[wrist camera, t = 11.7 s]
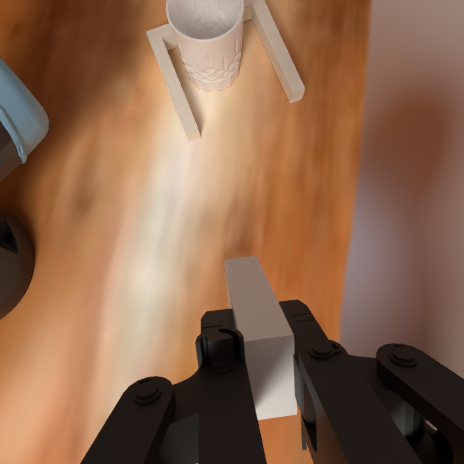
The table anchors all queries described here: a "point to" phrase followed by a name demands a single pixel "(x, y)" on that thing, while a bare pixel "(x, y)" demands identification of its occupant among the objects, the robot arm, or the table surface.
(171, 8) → the white cup
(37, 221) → the table surface
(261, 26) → the bay
